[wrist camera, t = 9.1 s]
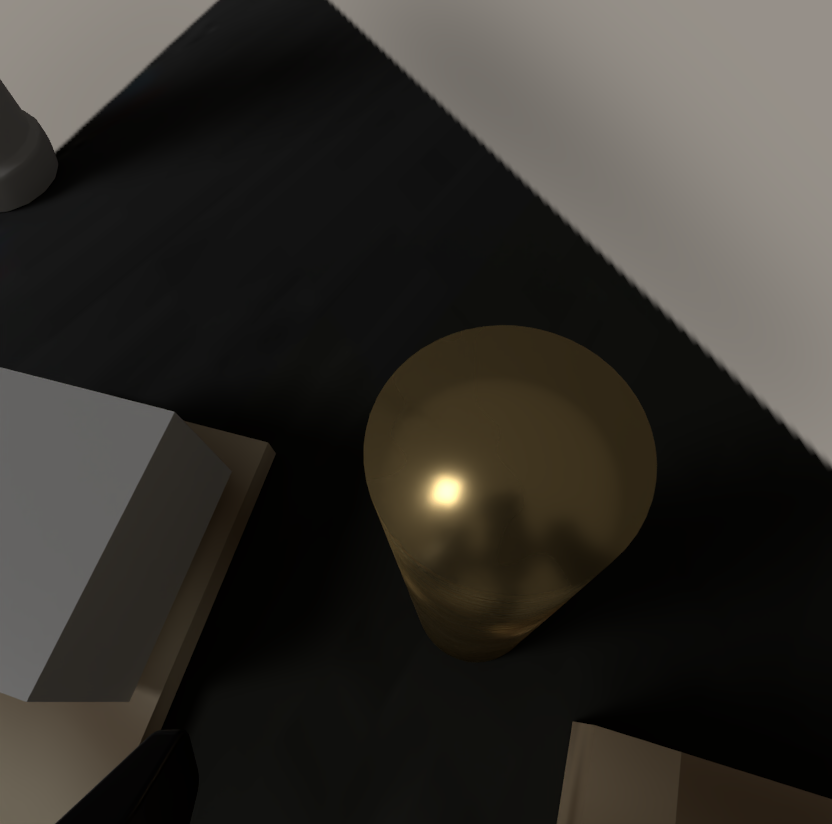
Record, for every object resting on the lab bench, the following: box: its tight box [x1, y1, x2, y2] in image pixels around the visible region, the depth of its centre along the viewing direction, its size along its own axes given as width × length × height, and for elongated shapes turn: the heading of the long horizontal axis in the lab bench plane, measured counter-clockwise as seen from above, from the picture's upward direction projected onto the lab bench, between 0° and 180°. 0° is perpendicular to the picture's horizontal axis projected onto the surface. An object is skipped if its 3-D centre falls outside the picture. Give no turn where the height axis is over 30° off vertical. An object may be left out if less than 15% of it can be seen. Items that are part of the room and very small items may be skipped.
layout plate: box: [0, 421, 276, 824], centre depth 18 cm, size 18×8×1 cm, turn 164°
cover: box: [0, 368, 232, 702], centre depth 16 cm, size 7×7×4 cm
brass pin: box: [364, 325, 657, 662], centre depth 13 cm, size 4×4×12 cm
